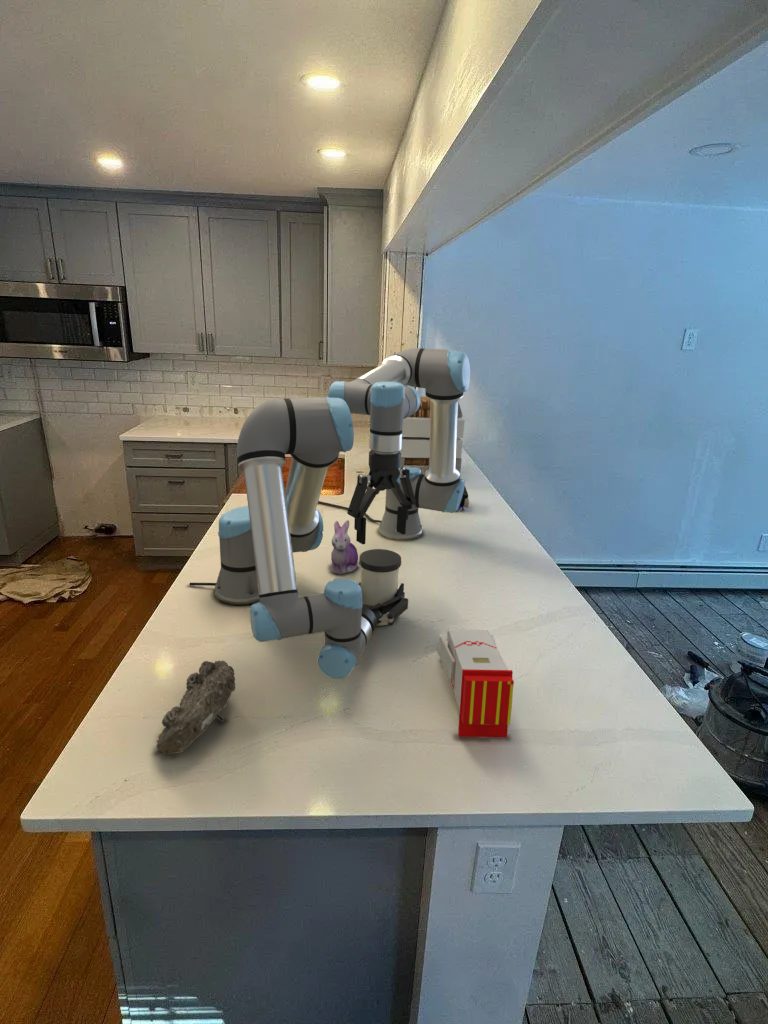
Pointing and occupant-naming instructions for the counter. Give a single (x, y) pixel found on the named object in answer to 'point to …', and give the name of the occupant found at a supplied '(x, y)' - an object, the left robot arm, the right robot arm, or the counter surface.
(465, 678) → the toy
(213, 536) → the counter surface
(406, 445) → the white wooden crate
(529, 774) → the counter surface
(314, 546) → the left robot arm
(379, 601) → the jar
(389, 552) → the lid
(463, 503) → the figurine character
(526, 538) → the counter surface
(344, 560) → the figurine
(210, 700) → the fossil
